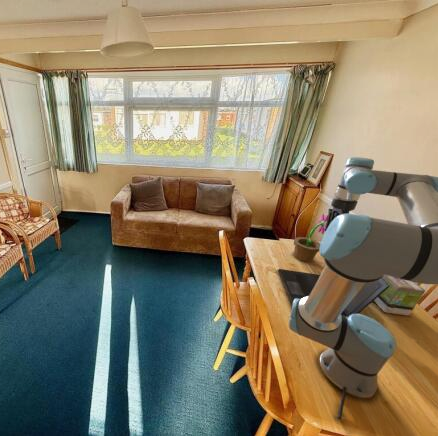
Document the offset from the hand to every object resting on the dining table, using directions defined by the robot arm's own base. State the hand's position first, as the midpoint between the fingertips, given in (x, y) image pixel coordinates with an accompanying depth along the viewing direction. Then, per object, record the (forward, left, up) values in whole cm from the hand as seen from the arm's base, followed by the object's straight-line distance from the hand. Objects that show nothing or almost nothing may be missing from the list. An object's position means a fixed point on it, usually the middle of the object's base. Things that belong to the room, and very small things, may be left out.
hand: (325, 248), depth 99 cm
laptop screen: (+13, -9, -17) cm, 23 cm away
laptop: (+4, +1, -28) cm, 29 cm away
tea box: (+29, -21, -29) cm, 46 cm away
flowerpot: (+34, +19, -29) cm, 48 cm away
